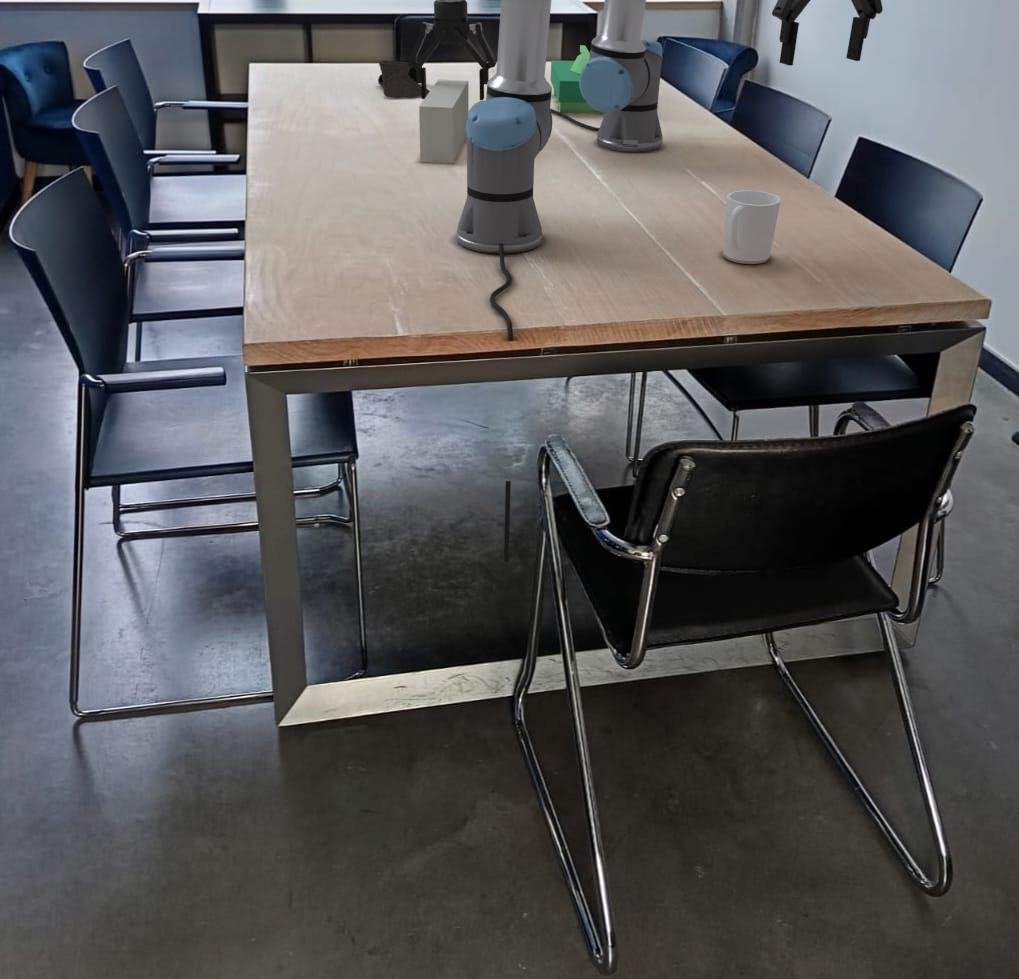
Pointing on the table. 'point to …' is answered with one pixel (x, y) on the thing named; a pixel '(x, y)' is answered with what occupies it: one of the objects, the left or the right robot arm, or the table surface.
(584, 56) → the toy tank
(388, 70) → the axe head
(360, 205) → the table surface
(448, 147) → the box
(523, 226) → the left robot arm
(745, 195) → the mug
